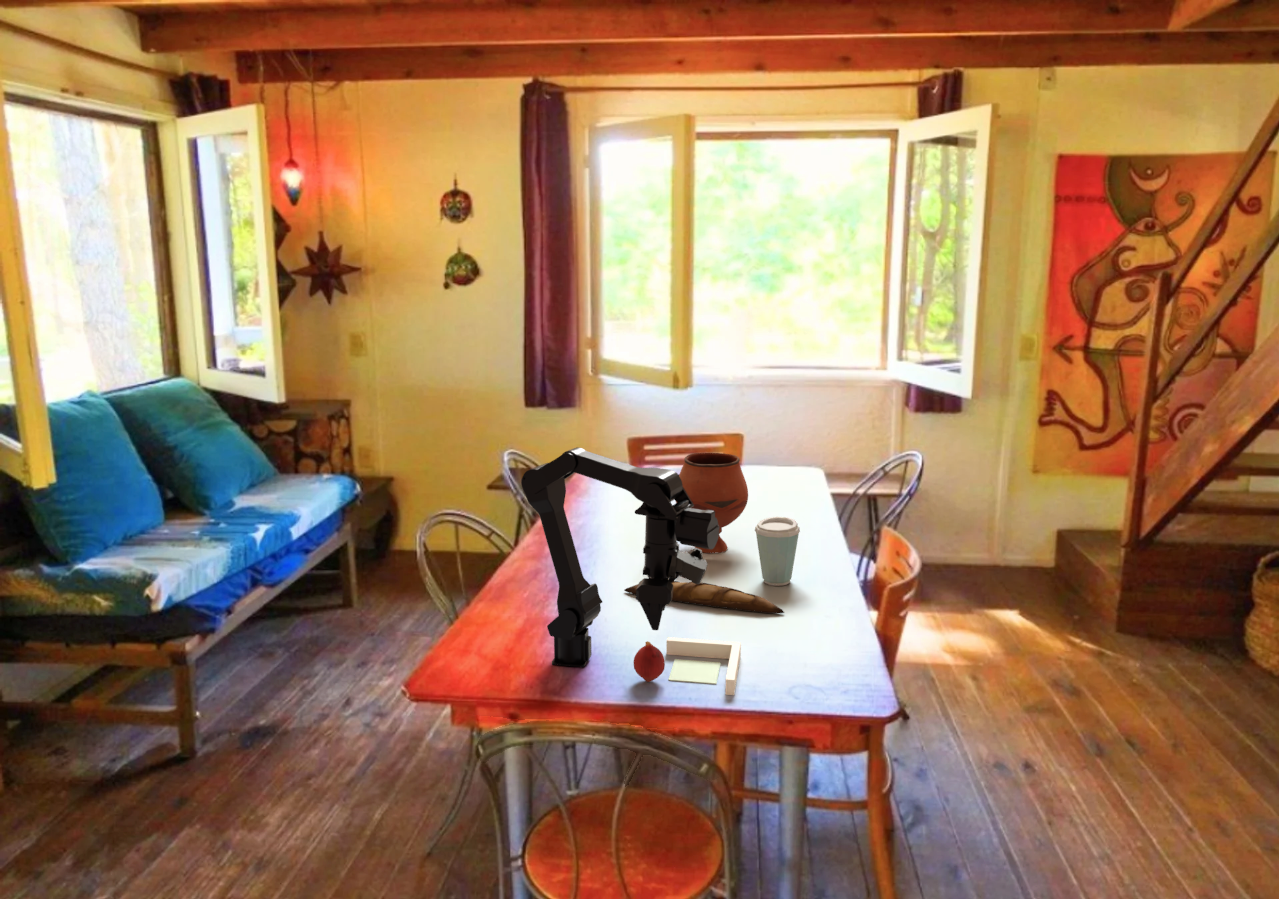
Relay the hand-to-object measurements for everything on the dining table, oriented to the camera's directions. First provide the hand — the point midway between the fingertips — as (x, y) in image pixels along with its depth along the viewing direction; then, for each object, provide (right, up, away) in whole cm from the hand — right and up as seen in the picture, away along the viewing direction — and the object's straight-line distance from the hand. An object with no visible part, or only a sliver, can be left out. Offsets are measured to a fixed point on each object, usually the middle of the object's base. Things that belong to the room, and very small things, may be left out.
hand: (658, 619), depth 176 cm
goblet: (+15, +5, +78) cm, 79 cm away
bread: (+11, -4, +40) cm, 41 cm away
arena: (+7, -11, +6) cm, 14 cm away
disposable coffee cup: (+29, 0, +53) cm, 61 cm away
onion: (-2, -12, +2) cm, 12 cm away
